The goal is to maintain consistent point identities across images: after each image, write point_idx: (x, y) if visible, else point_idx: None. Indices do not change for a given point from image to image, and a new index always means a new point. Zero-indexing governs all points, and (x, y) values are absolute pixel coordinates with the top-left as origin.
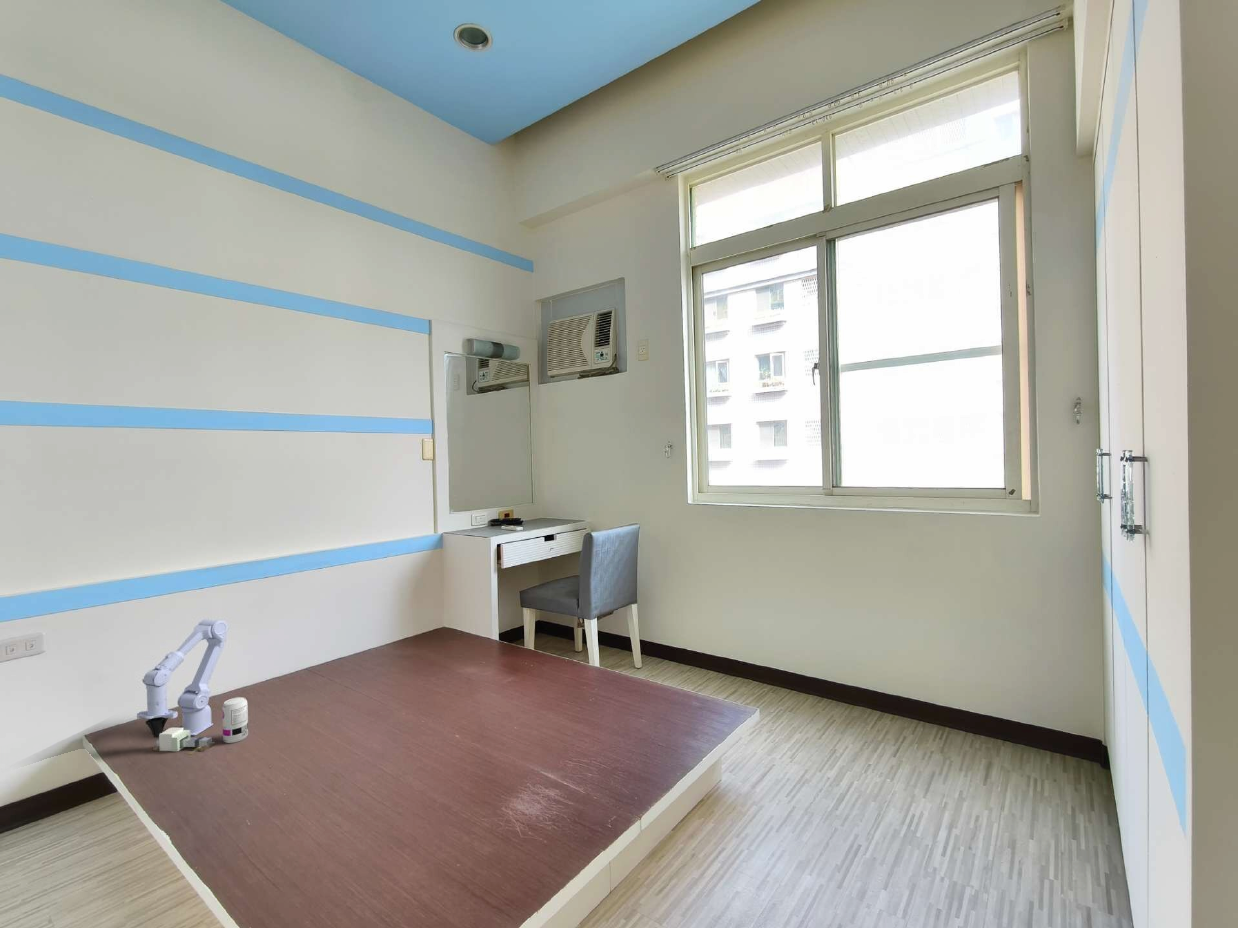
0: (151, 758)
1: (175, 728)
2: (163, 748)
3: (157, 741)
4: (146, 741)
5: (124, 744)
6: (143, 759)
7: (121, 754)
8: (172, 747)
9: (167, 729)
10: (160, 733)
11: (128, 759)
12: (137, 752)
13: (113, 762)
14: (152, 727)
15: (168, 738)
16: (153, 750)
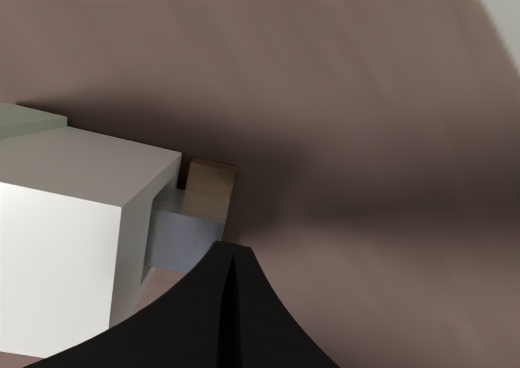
0: (166, 20)
1: (15, 330)
2: (139, 147)
3: (213, 216)
4: (369, 320)
5: (493, 309)
6: (229, 18)
7: (456, 165)
8: (33, 118)
9: (109, 323)
10: (120, 225)
11: (363, 55)
12: (350, 170)
13: (464, 26)
14: (244, 321)
15: (17, 156)
16: (235, 167)
